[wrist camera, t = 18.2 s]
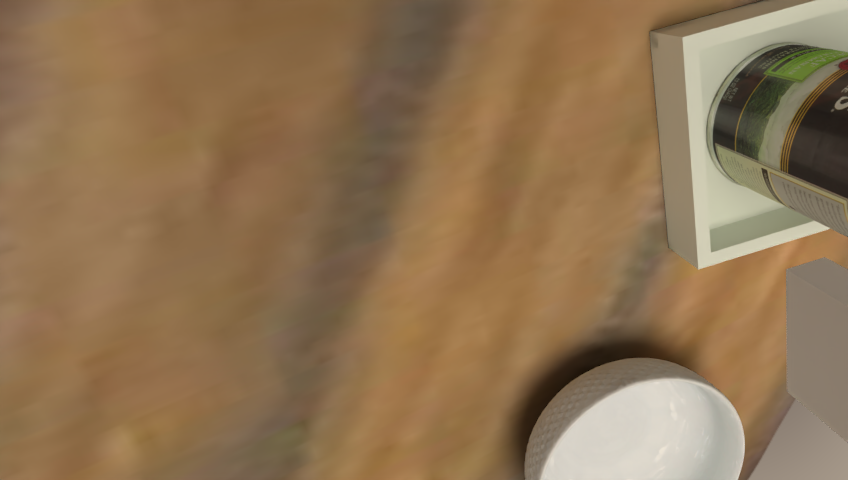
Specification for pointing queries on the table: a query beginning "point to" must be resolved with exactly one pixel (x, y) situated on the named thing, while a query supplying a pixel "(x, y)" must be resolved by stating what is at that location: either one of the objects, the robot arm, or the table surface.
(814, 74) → the coffee can
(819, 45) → the tray
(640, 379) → the cereal bowl
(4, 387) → the table surface
